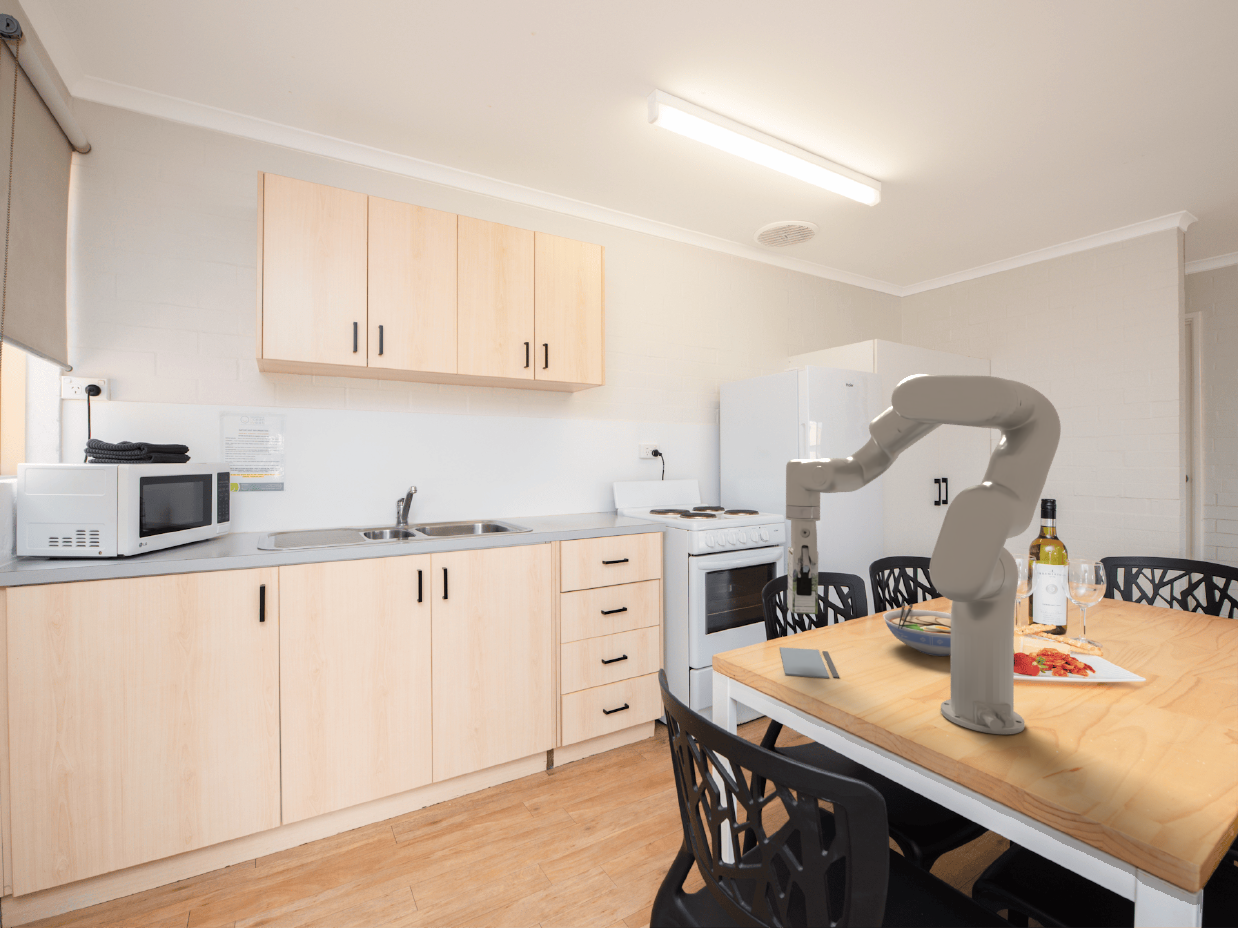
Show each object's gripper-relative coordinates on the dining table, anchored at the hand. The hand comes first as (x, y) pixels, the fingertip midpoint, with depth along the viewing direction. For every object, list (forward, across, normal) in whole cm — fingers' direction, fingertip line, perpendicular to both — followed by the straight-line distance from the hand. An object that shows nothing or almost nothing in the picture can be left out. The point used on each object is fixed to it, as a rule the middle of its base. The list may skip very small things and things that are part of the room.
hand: (802, 591), depth 132 cm
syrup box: (+5, 0, 0) cm, 5 cm away
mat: (+16, 0, 0) cm, 16 cm away
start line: (+16, 0, -6) cm, 17 cm away
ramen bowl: (+16, +15, -32) cm, 39 cm away
